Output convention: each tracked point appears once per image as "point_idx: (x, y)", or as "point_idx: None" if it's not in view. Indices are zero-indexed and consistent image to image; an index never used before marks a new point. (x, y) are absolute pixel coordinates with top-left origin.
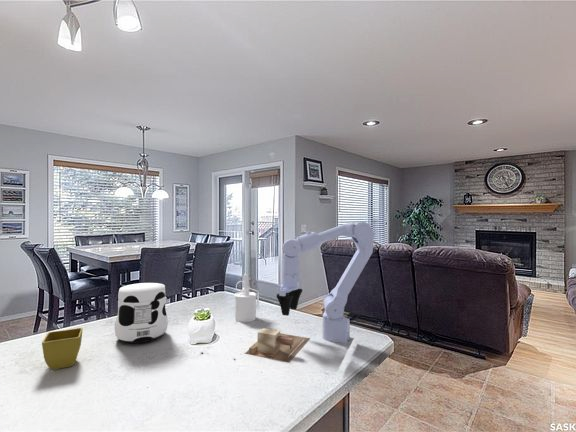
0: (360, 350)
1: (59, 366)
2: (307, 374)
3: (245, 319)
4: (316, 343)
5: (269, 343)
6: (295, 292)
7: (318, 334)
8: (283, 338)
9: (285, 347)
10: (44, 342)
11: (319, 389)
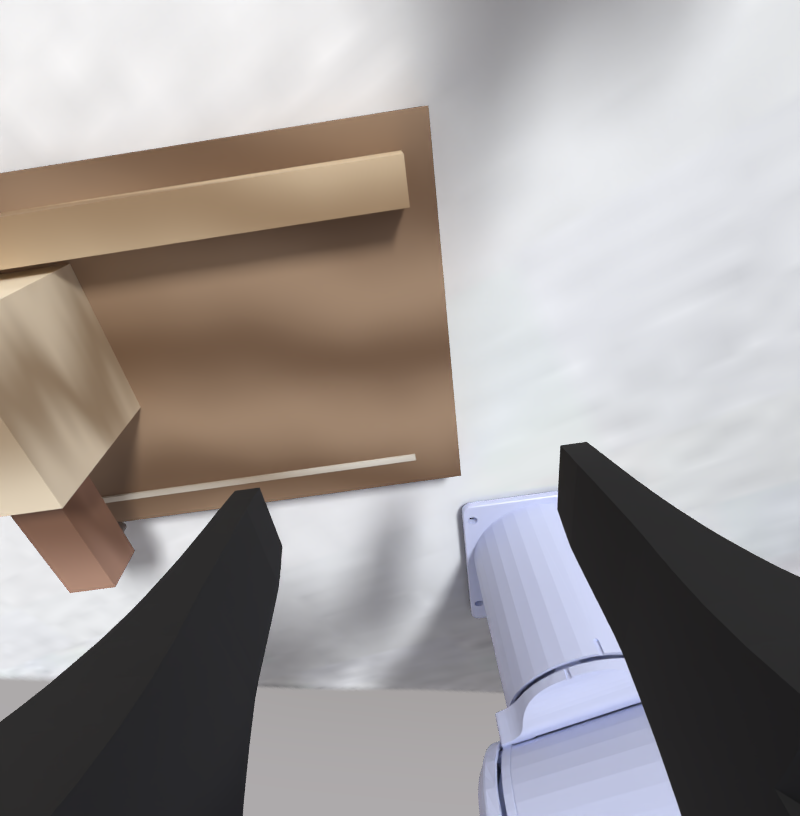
0: (483, 652)
1: None
2: (94, 590)
3: None
4: (463, 488)
5: None
6: (717, 802)
7: (627, 439)
8: (38, 544)
9: (202, 420)
10: None
11: (40, 655)
